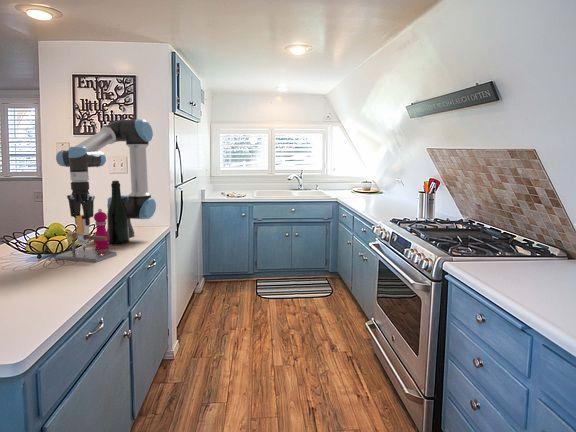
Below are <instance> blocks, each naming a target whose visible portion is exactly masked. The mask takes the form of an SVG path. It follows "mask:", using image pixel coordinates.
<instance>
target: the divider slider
mask: <svg viewBox="0 0 576 432" xmlns="http://www.w3.org/2000/svg"><path fill="white" fill-rule="evenodd" d="M83 218H84V214H80V215H78V216H76V220H77V225H76V232H77V235H78V239H77V245H80V246H82V249H83V250H84V252H85V250H87V249H86V244H90V243H91V240H87V239H84V235H90V231H89V232H88V233H84V228H83Z"/></svg>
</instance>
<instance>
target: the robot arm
mask: <svg viewBox="0 0 576 432" xmlns="http://www.w3.org/2000/svg"><path fill="white" fill-rule="evenodd" d="M153 136H154V131H153V128H152V126H151V124H150V123H149V121H147V120H145V119H139V118H138V119H137V118H136V119H118V120H115V121H112V122H110V123H108V124H106V125H104V126H102V127H101V128H100V129H99V131H98V132H96V133H94V134H93V135H91V136H90V137H88V138H86V139H85V140H83V141H81V142H80V143H78V144H76V145H75V146H70V147H69V148H68V150H67V149H66V150H60V151H57V153H56V155H55V161H56V162H57V164H58V165H59V166H60V167H64V168H65V167H66V168H69V177H70V190H72V192H71V194H69V195H66V198H67V200H68V206H69V211H70V217H71V218H74V221H75V223H74V224H75V225H76V226H77V220H76V216H78V215H81V208H82V213H83V215H84V218H83V228H84V233H88V232H89V233H90V225H91V221H90V219H91V218H94V207H95V206H94V205H95V203H94V200H95V197H96V196H95V195H92V194H91V193H90V192H89V190H90V182H89V180H90V178H89V168H100V167H103V166H104V165H105V164H106V161H107V158H106V155H105V153H104V152H103V151H101V149H102V148H104V147H106V146H107V145H112V144H115V143H118V142H125V144H126V145H125V146H127V147H128V148H129V163H130V164H129V168H130V183H131V184H130V185H131V189H130V190H131V192H130V193H129V194H123V195H122V194H121V198H122V201H123V203H124V206H125V208H126V210H127V216H128V227H129V238H132V237H134V236H135V230H134V228H133V225H132V222H131V219H133V220H134V219H135V220H149V219H151V218H152V217H153V216H154V214H155V213H156V209H157V203H156V201H155V199H154V198H153V197H152V195H151V193H150V192H149V188H148V187H149V186H148V167H147V166H148V163H147V160H148V159H147V148H148V146H149V145H150V143H149V142H151V141H152V139H153ZM111 197H112V196H110V197H108V198H107V203H106V204H107V209H108V208H109V205H110V202H111ZM81 206H82V207H81ZM106 232H107V234H108V227H107V228H106Z"/></svg>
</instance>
